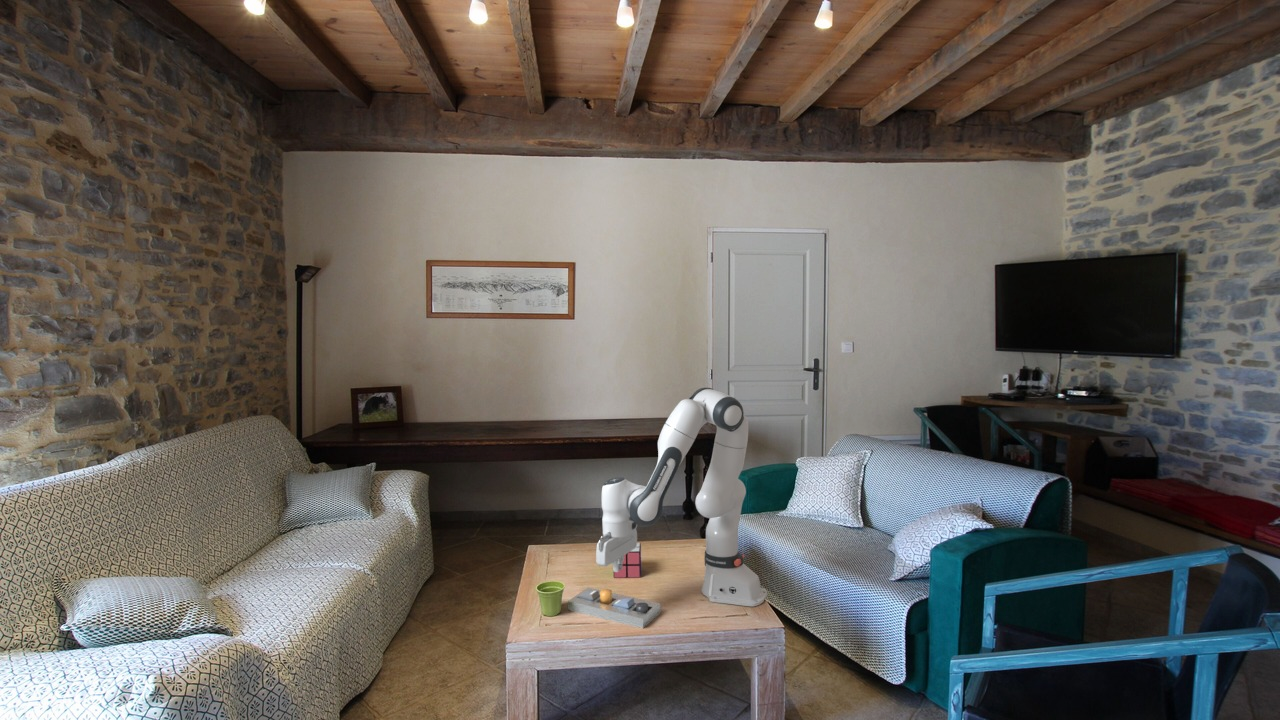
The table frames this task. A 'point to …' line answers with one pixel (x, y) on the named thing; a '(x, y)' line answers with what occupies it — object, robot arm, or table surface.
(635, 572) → the puzzle cube
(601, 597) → the button orange
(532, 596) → the table surface
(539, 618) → the table surface
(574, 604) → the panel
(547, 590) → the plant pot
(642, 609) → the button black
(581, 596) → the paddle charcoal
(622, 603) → the rocker blue
